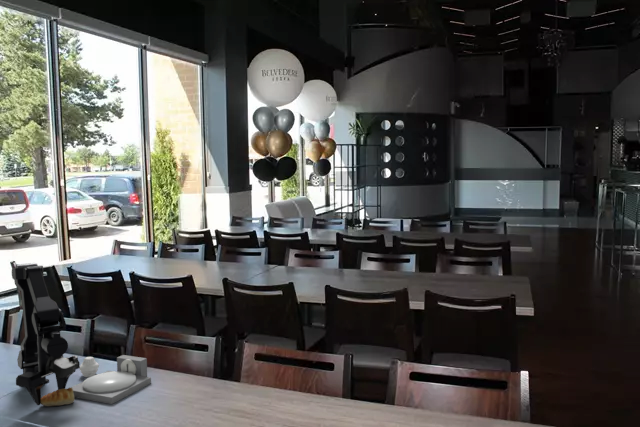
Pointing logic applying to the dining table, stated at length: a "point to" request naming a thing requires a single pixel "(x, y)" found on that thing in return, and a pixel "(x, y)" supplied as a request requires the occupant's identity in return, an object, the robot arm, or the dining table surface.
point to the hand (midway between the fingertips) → (50, 399)
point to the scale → (115, 381)
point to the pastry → (58, 397)
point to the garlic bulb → (89, 367)
